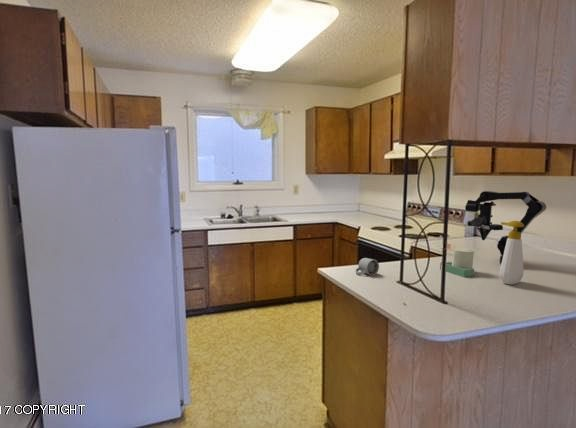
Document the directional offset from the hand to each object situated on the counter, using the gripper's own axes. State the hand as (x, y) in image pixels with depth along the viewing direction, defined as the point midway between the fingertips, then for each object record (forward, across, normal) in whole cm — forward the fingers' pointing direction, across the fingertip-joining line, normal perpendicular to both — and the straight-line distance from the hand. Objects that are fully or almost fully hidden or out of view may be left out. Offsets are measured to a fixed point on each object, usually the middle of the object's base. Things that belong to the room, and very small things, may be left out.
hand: (483, 240), depth 203 cm
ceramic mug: (+12, -2, -78) cm, 79 cm away
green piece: (+12, +13, -34) cm, 38 cm away
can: (+12, +13, -30) cm, 35 cm away
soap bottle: (+12, +34, -24) cm, 44 cm away
